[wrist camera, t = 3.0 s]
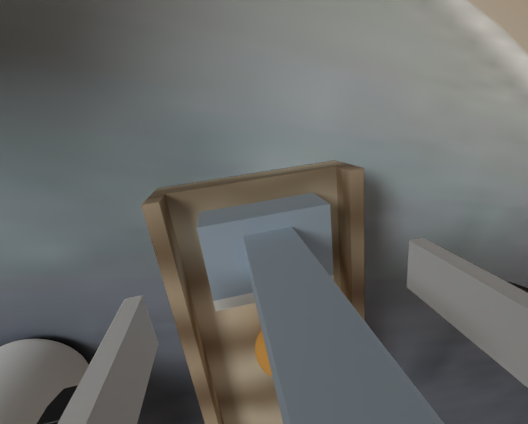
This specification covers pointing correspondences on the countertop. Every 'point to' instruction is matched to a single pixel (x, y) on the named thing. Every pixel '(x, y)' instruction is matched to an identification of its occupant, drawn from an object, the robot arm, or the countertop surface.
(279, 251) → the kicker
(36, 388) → the beverage can
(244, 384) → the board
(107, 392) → the robot arm
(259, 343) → the ball
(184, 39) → the countertop surface
